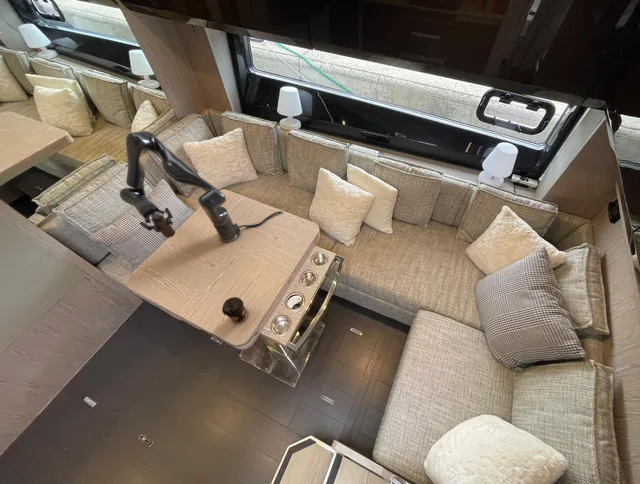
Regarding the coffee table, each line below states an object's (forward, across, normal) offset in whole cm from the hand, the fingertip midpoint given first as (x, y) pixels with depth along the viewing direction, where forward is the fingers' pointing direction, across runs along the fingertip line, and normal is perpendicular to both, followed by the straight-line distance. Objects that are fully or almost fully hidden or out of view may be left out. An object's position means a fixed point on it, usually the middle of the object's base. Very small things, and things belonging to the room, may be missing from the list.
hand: (165, 227), depth 132 cm
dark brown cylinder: (+52, -2, +22) cm, 56 cm away
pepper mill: (-3, 0, +8) cm, 8 cm away
